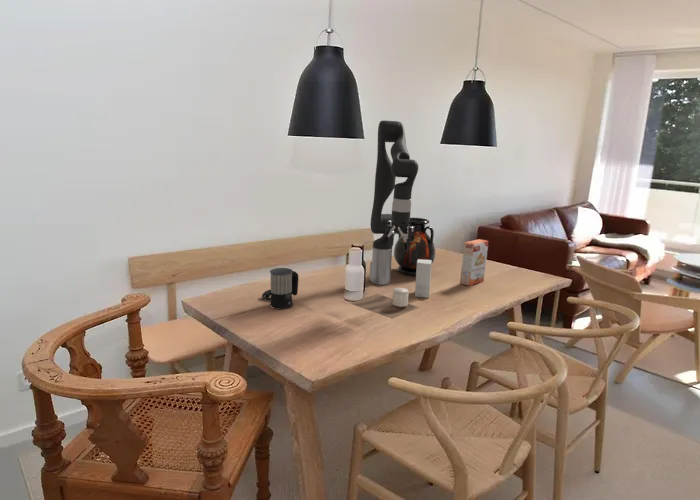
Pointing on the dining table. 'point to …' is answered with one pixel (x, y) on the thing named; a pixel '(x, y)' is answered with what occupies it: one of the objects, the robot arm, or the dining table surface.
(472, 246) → the cracker box
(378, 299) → the post board
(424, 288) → the skincare box
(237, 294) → the dining table surface
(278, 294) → the milk frother
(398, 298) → the cap
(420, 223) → the amphora vase
